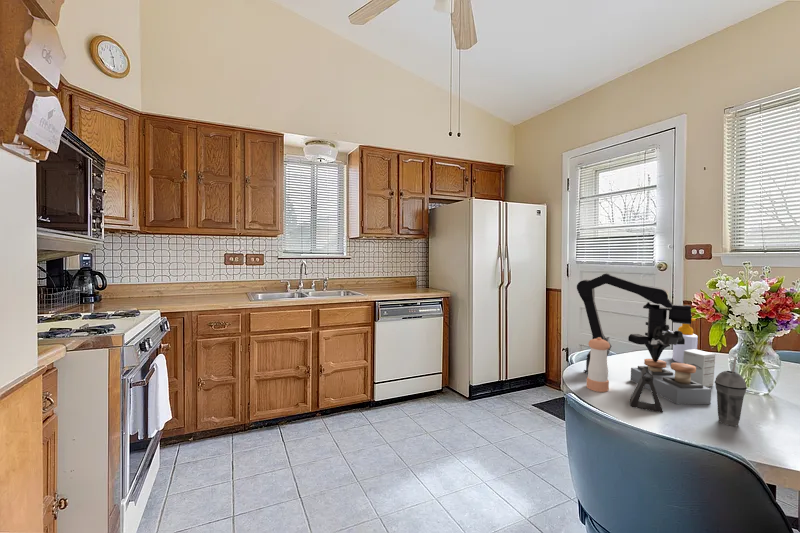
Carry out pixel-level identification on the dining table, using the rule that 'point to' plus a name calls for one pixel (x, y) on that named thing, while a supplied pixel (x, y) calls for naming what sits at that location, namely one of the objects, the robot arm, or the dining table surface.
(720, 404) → the beverage cup
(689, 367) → the pin right
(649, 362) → the pin left
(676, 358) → the soap bottle
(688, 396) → the socket block
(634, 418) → the dining table surface
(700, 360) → the supplement box
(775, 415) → the dining table surface
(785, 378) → the dining table surface
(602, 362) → the salt shaker
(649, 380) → the phone stand
